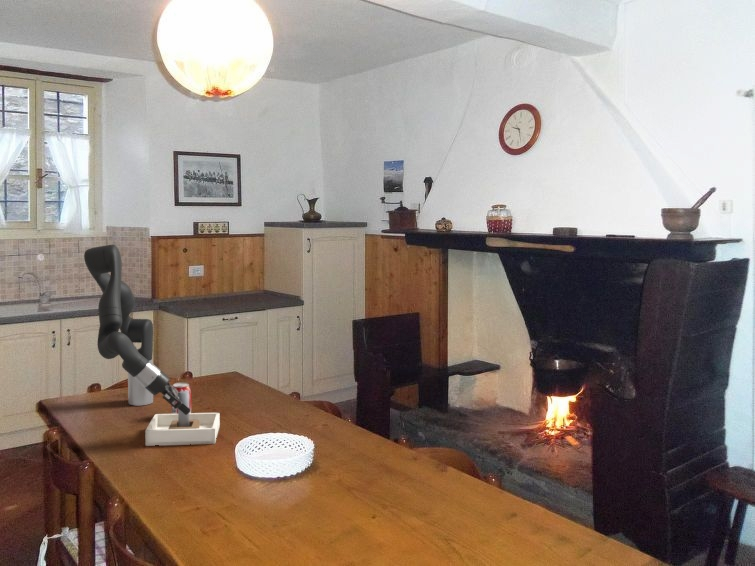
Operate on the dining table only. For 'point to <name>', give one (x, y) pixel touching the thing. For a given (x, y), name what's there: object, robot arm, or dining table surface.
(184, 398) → the peg
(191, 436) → the white rectangular tray
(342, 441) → the dining table surface
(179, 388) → the soda can
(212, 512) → the dining table surface
